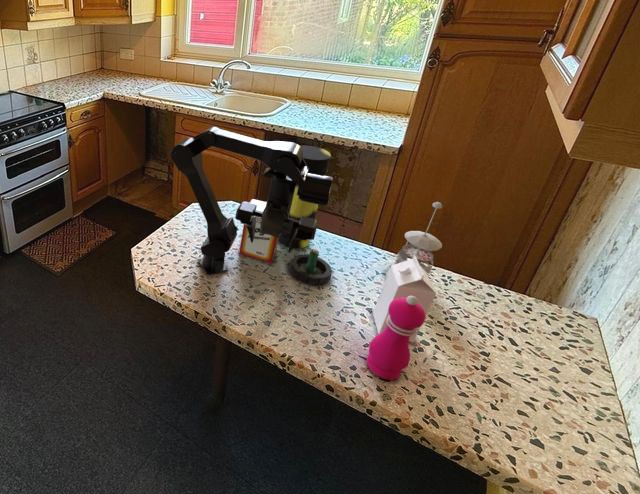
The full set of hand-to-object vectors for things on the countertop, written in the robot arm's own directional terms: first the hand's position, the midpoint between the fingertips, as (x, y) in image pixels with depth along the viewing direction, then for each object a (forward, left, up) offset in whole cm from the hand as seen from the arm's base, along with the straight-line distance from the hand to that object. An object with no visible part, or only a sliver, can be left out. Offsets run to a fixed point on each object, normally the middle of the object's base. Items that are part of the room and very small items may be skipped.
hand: (270, 247), depth 103 cm
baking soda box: (-12, +6, -12) cm, 18 cm away
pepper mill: (+30, +10, -12) cm, 34 cm away
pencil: (0, +15, -12) cm, 19 cm away
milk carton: (+22, +21, -12) cm, 33 cm away
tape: (0, +15, -12) cm, 19 cm away
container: (-15, +20, -12) cm, 28 cm away
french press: (+9, +39, -12) cm, 42 cm away
